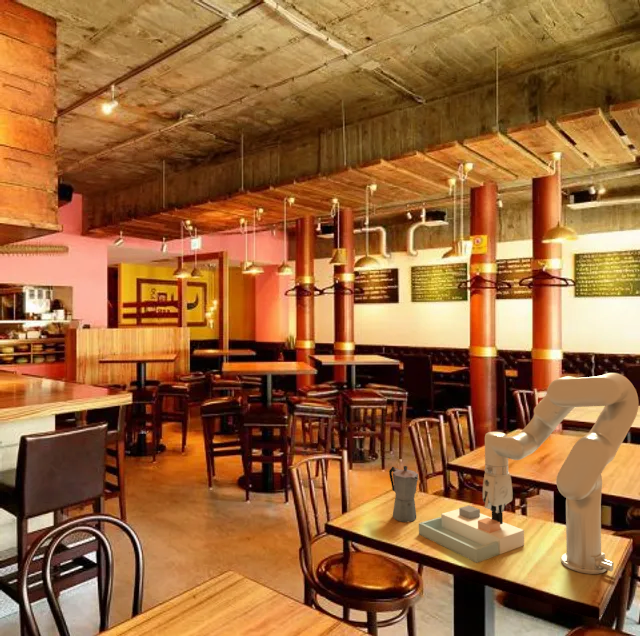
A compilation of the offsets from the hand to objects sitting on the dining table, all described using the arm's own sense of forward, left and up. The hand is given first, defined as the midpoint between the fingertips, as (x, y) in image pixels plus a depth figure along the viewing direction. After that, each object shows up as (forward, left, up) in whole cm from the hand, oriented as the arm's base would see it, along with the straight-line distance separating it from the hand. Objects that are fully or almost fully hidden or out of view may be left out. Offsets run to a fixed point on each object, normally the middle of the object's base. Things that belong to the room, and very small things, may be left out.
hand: (497, 523), depth 180 cm
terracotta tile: (0, +4, -1) cm, 4 cm away
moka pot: (+34, +12, -6) cm, 37 cm away
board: (+6, +1, -6) cm, 9 cm away
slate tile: (+12, 0, -1) cm, 12 cm away
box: (+6, +13, -6) cm, 15 cm away
